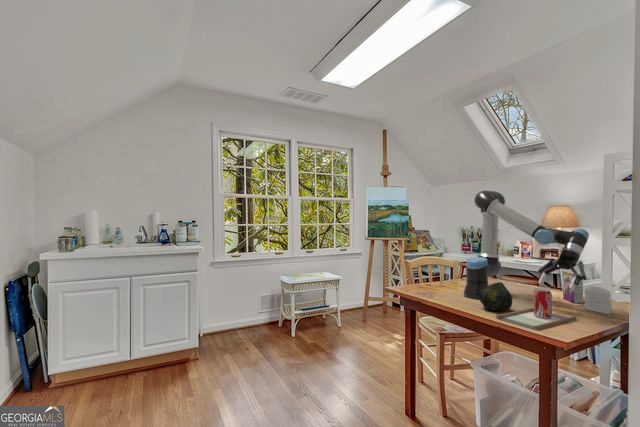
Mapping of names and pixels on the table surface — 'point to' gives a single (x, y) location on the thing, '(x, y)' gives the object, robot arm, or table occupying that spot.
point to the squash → (496, 297)
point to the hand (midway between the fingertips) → (555, 286)
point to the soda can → (542, 303)
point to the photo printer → (598, 300)
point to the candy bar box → (570, 295)
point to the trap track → (533, 319)
